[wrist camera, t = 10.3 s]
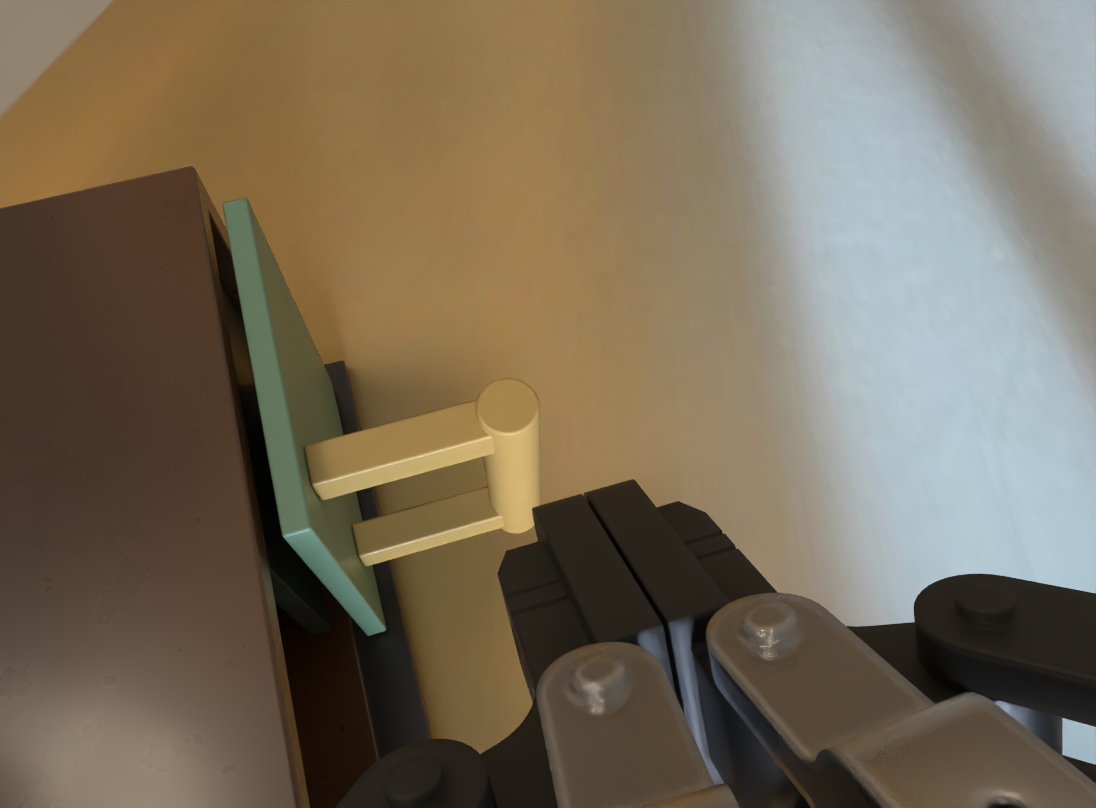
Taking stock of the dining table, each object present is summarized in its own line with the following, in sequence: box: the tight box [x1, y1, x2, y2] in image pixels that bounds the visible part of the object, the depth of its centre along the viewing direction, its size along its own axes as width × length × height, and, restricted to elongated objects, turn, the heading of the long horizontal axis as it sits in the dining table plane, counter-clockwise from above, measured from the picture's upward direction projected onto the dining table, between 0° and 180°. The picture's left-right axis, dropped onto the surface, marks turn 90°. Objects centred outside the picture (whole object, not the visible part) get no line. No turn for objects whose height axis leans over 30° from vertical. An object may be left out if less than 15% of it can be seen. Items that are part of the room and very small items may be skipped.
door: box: [223, 198, 540, 636], centre depth 24 cm, size 6×9×10 cm
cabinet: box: [0, 166, 433, 808], centre depth 22 cm, size 12×18×11 cm
